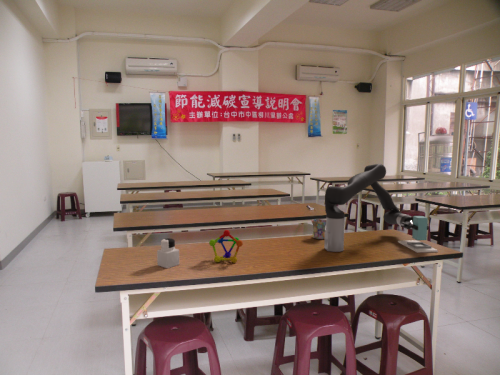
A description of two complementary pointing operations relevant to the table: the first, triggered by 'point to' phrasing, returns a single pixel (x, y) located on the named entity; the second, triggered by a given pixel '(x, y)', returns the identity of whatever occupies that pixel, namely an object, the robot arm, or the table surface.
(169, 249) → the grey block with knob
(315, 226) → the mug
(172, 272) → the table surface
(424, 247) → the baseplate
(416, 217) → the pillar
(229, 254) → the educational toy
